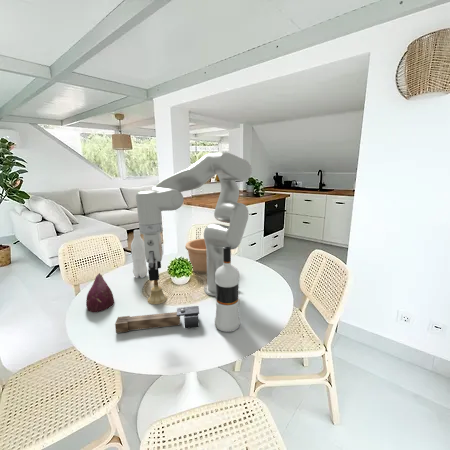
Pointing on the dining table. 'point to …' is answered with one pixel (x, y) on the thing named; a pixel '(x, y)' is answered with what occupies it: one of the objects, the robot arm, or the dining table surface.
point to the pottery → (197, 255)
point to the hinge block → (189, 316)
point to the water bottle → (138, 255)
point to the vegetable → (99, 296)
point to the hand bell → (157, 294)
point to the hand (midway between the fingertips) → (155, 273)
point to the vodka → (227, 294)
